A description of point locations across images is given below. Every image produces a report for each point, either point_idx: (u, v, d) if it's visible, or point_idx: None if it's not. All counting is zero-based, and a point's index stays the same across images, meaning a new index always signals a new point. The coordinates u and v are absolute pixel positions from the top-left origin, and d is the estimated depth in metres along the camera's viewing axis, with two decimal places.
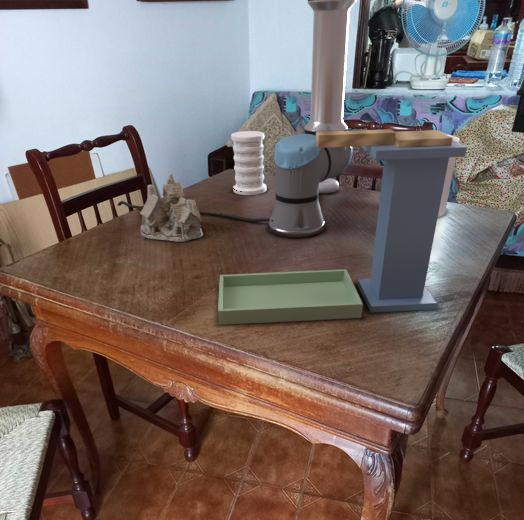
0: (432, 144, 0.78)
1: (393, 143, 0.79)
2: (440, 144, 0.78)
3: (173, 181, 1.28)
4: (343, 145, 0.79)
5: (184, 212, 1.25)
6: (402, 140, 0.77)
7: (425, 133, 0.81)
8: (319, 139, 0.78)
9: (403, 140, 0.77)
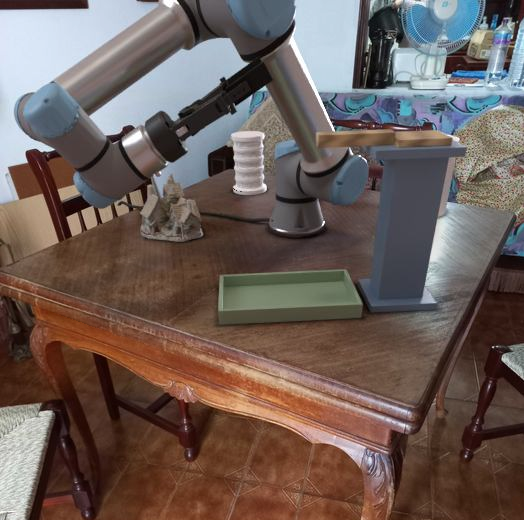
0: (432, 144, 0.78)
1: (393, 143, 0.79)
2: (440, 144, 0.78)
3: (173, 181, 1.28)
4: (343, 145, 0.79)
5: (184, 212, 1.25)
6: (402, 140, 0.77)
7: (425, 133, 0.81)
8: (319, 139, 0.78)
9: (403, 140, 0.77)
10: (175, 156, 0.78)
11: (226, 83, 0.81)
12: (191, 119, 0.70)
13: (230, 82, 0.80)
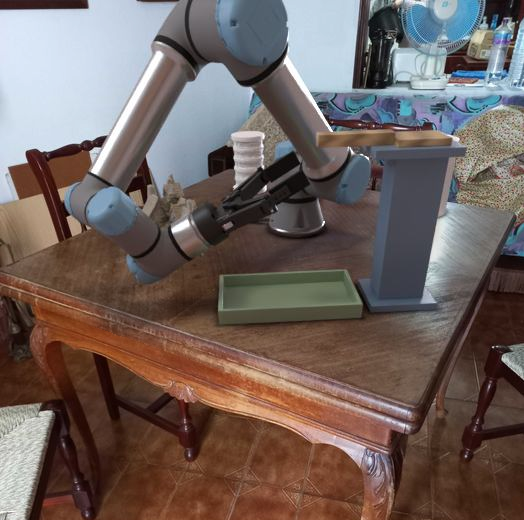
0: (432, 144, 0.78)
1: (393, 143, 0.79)
2: (440, 144, 0.78)
3: (173, 181, 1.28)
4: (343, 145, 0.79)
5: (184, 212, 1.25)
6: (402, 140, 0.77)
7: (425, 133, 0.81)
8: (319, 139, 0.78)
9: (403, 140, 0.77)
10: (219, 241, 0.87)
11: (263, 172, 0.89)
12: (237, 217, 0.79)
13: (267, 172, 0.89)
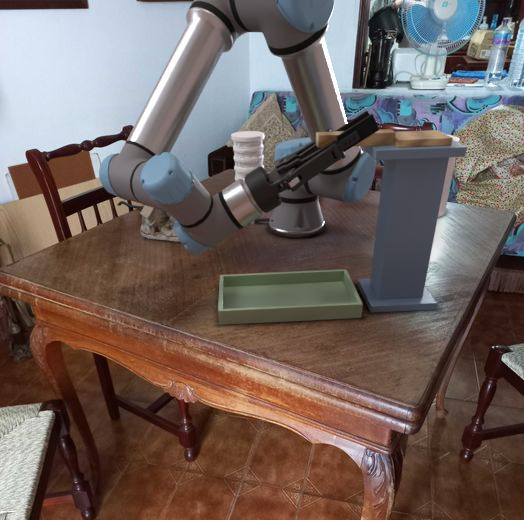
0: (432, 144, 0.78)
1: (393, 143, 0.79)
2: (440, 144, 0.78)
3: None
4: None
5: None
6: (402, 140, 0.77)
7: (425, 133, 0.81)
8: (319, 139, 0.78)
9: (403, 140, 0.77)
10: (272, 207, 0.84)
11: None
12: (305, 169, 0.77)
13: None
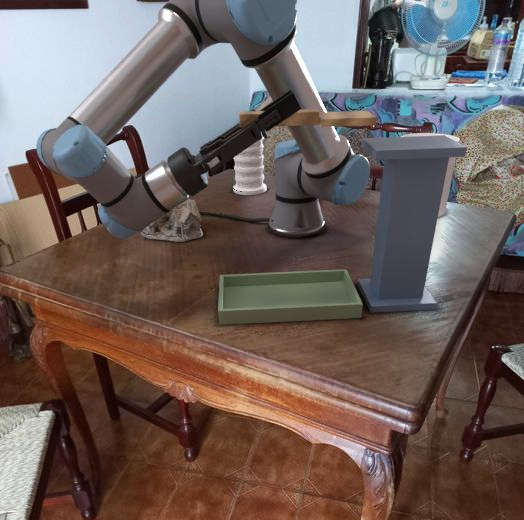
0: (356, 124, 0.75)
1: (318, 123, 0.77)
2: (364, 124, 0.76)
3: None
4: None
5: (184, 212, 1.25)
6: (325, 119, 0.75)
7: (352, 113, 0.79)
8: (240, 118, 0.76)
9: (326, 119, 0.75)
10: (196, 190, 0.81)
11: None
12: (224, 148, 0.75)
13: None
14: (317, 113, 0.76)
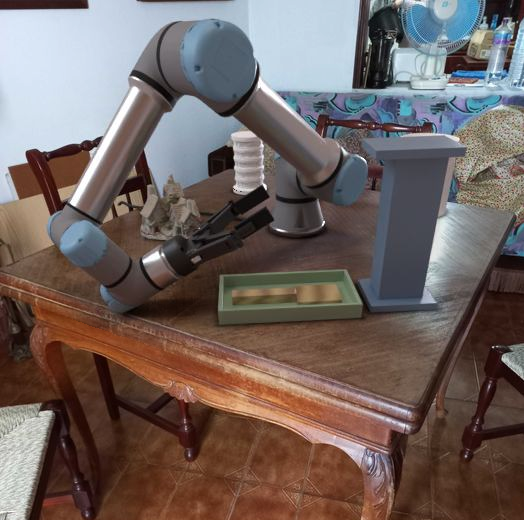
0: None
1: (295, 301, 0.96)
2: None
3: (173, 181, 1.28)
4: (253, 303, 0.95)
5: (184, 212, 1.25)
6: (300, 302, 0.94)
7: (323, 290, 0.97)
8: (233, 299, 0.95)
9: (301, 302, 0.94)
10: (189, 272, 0.90)
11: (233, 205, 0.92)
12: (204, 251, 0.82)
13: (237, 205, 0.91)
14: (294, 294, 0.95)
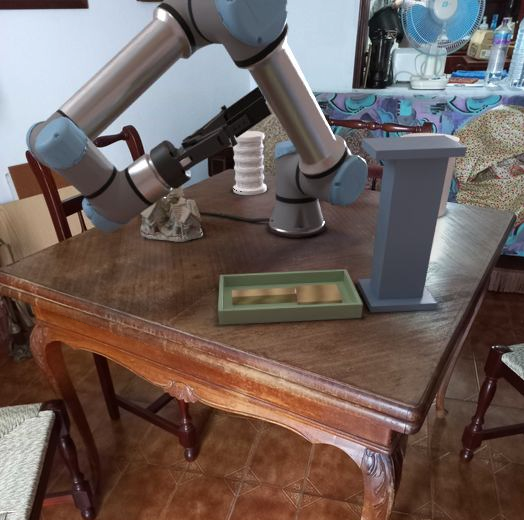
0: None
1: (295, 301, 0.96)
2: None
3: None
4: (253, 303, 0.95)
5: (184, 212, 1.25)
6: (300, 302, 0.94)
7: (323, 290, 0.97)
8: (233, 299, 0.95)
9: (301, 302, 0.94)
10: (179, 183, 0.82)
11: (227, 111, 0.84)
12: (194, 151, 0.74)
13: (231, 111, 0.83)
14: (294, 294, 0.95)
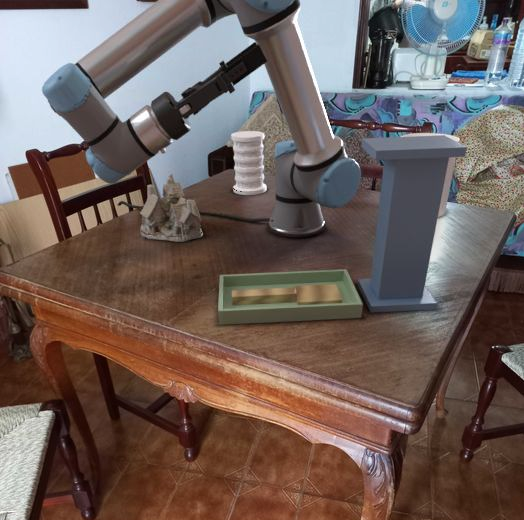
0: None
1: (295, 301, 0.96)
2: None
3: (173, 181, 1.28)
4: (253, 303, 0.95)
5: (184, 212, 1.25)
6: (300, 302, 0.94)
7: (323, 290, 0.97)
8: (233, 299, 0.95)
9: (301, 302, 0.94)
10: (179, 133, 0.85)
11: (225, 66, 0.88)
12: (193, 98, 0.77)
13: (229, 65, 0.87)
14: (294, 294, 0.95)
